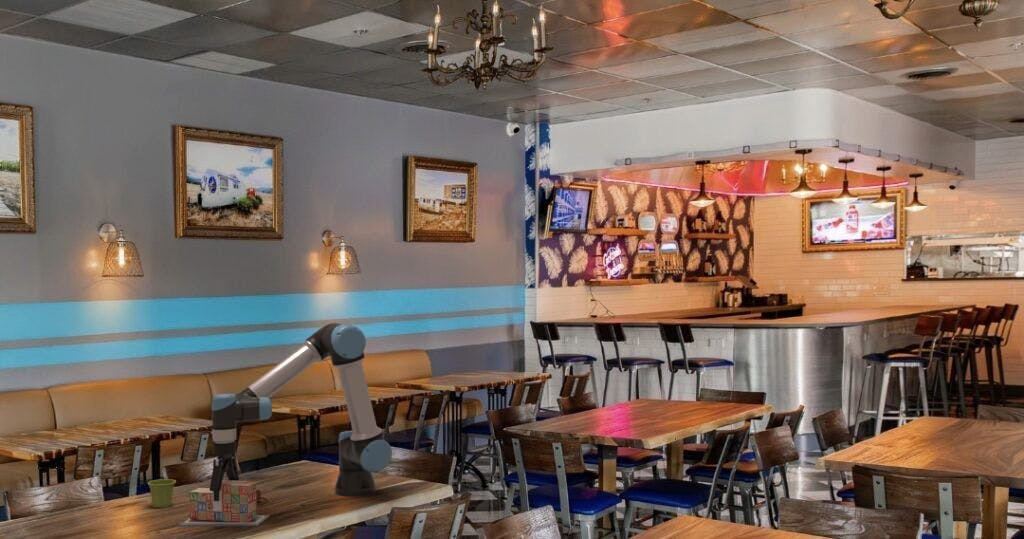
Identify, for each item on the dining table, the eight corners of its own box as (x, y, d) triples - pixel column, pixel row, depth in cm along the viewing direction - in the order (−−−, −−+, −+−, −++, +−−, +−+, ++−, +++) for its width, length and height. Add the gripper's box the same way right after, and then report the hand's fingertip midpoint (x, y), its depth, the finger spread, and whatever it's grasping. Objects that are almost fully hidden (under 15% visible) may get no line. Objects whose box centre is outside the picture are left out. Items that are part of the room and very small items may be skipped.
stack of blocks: (189, 519, 322) (188, 482, 322) (199, 515, 328) (199, 478, 328) (248, 523, 317) (247, 485, 317) (257, 518, 323) (257, 481, 323)
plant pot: (168, 501, 353) (168, 477, 353) (180, 506, 346) (180, 481, 346) (143, 506, 346) (143, 482, 346) (155, 510, 339) (154, 485, 339)
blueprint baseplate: (269, 518, 327) (269, 514, 327) (257, 528, 314) (257, 524, 314) (194, 517, 329) (194, 514, 329) (178, 527, 316) (178, 524, 316)
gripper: (226, 434, 334) (227, 496, 334) (198, 448, 310) (199, 514, 310) (247, 434, 334) (248, 496, 334) (221, 448, 309) (222, 515, 309)
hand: (225, 505), depth 322 cm, fingers open, 13 cm apart
